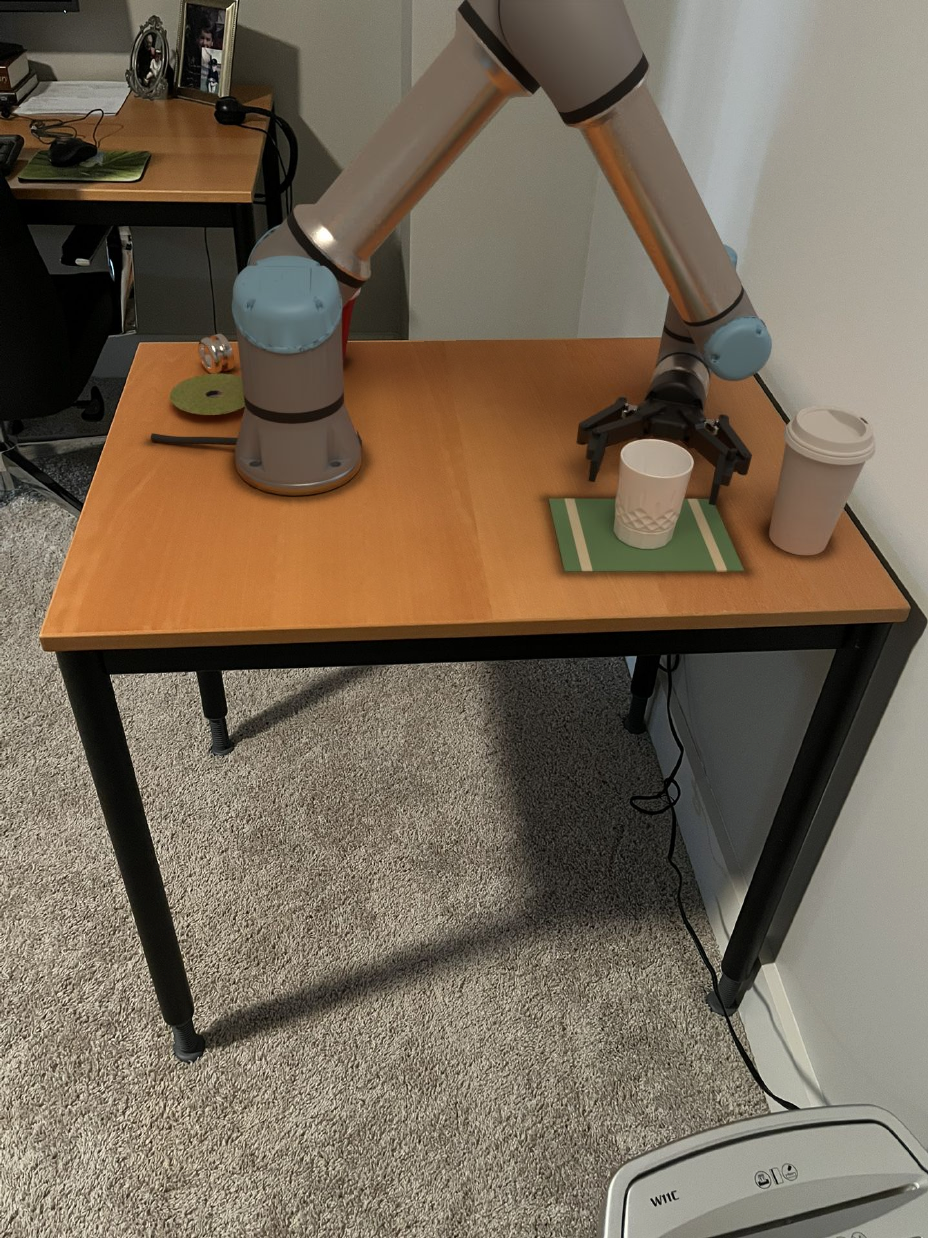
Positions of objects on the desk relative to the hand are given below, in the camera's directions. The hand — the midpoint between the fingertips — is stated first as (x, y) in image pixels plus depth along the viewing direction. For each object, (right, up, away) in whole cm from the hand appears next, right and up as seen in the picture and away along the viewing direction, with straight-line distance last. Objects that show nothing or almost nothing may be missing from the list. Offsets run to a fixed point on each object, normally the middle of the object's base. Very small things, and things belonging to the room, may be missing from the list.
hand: (652, 483), depth 110 cm
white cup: (-1, -5, +4) cm, 7 cm away
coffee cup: (+17, -6, +4) cm, 19 cm away
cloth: (-1, -5, +4) cm, 6 cm away
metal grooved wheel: (-56, +20, +29) cm, 66 cm away
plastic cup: (-41, +22, +33) cm, 57 cm away
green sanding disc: (-54, +13, +22) cm, 60 cm away
